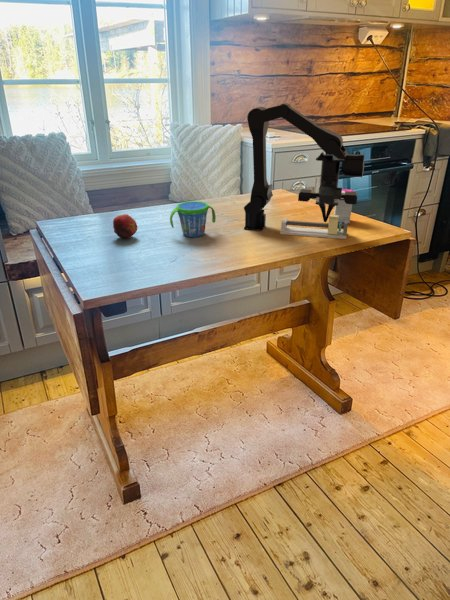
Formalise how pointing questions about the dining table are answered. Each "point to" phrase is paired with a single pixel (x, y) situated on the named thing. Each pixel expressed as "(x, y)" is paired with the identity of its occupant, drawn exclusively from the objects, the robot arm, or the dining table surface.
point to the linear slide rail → (313, 231)
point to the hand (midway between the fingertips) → (325, 221)
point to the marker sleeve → (333, 224)
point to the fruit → (124, 226)
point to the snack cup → (192, 217)
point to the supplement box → (343, 209)
